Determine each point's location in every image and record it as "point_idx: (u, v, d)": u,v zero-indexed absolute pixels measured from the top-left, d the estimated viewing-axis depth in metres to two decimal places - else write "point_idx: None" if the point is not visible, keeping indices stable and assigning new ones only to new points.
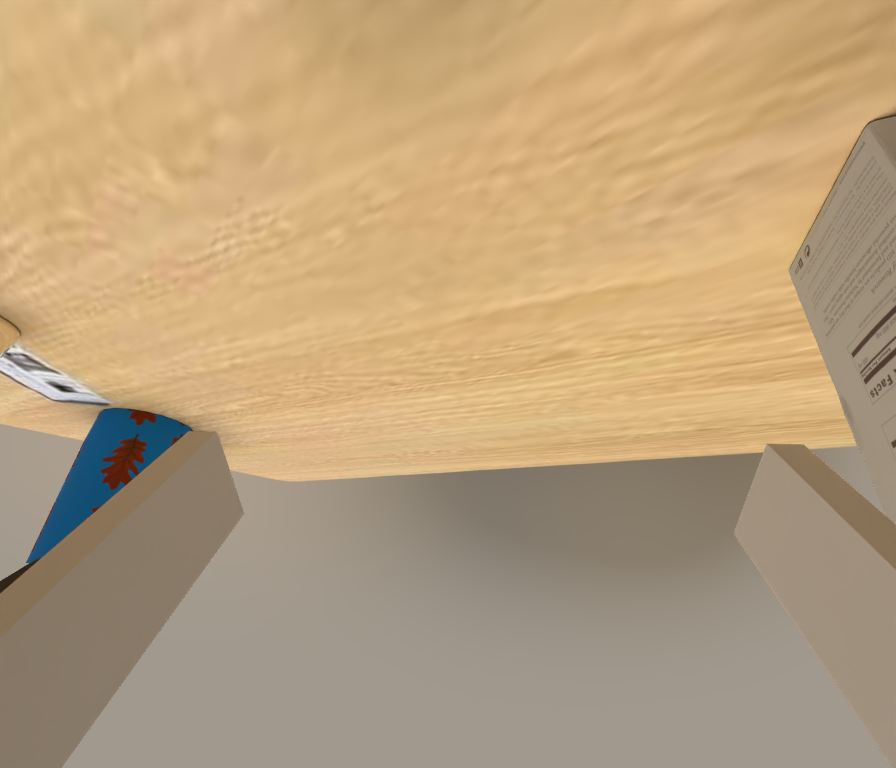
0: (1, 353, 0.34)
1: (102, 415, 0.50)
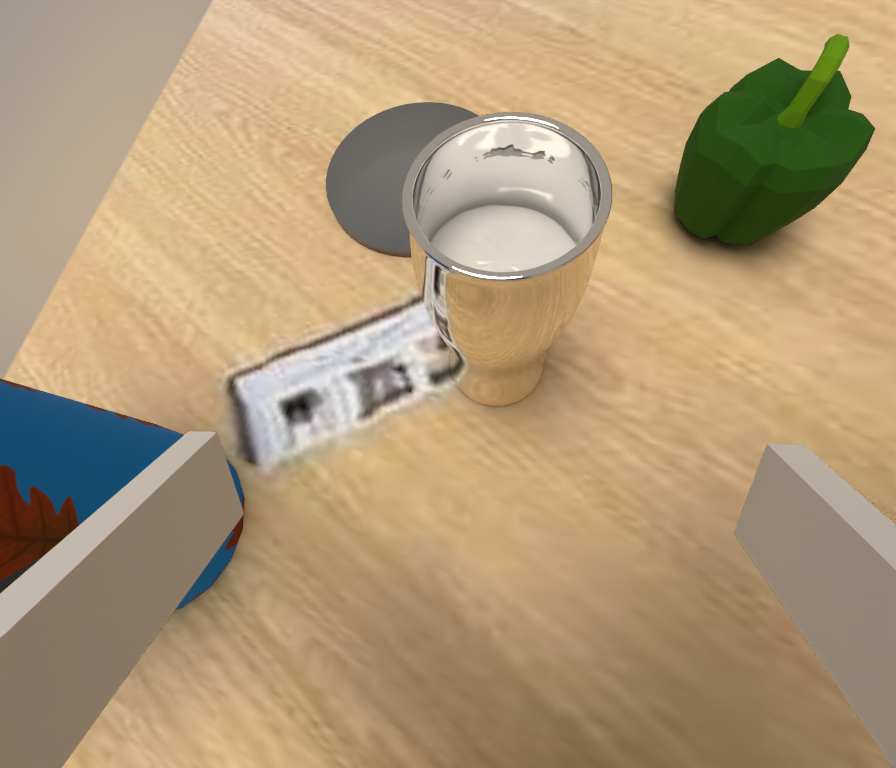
0: (490, 391, 0.24)
1: None
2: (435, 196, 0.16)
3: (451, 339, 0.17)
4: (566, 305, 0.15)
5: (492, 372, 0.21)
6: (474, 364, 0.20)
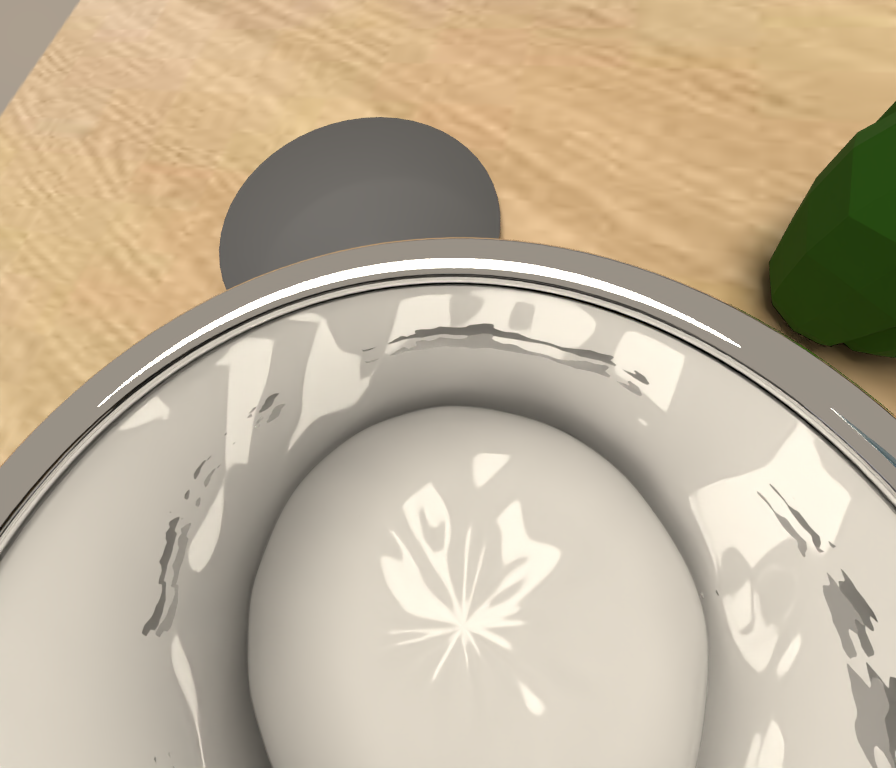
0: None
1: None
2: (248, 457, 0.05)
3: None
4: None
5: None
6: None
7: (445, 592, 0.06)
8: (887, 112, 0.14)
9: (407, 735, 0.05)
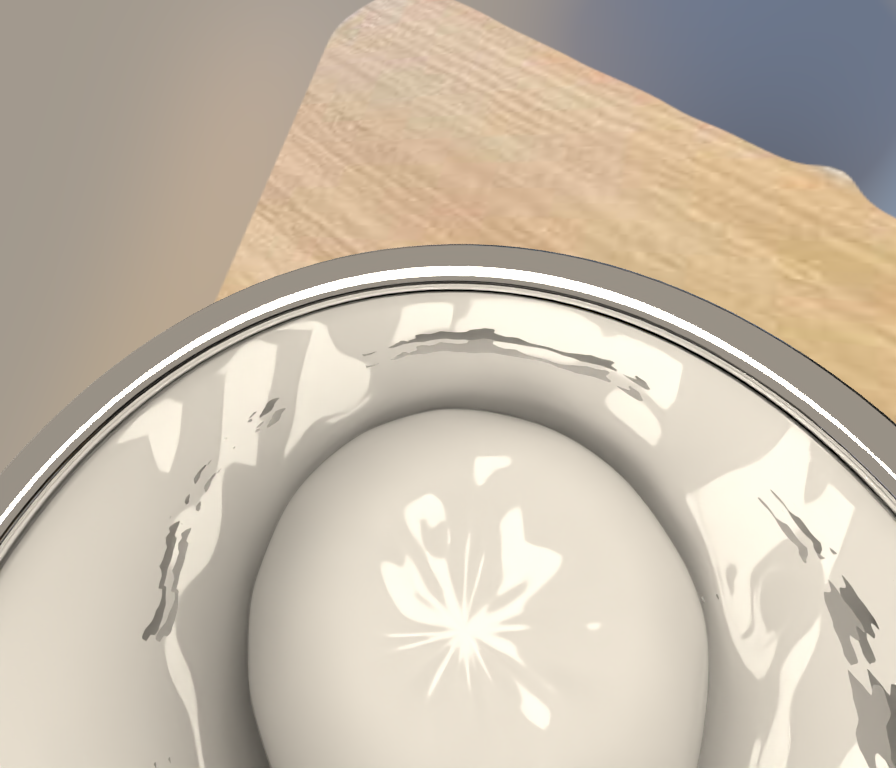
0: None
1: None
2: (247, 461, 0.05)
3: None
4: None
5: None
6: None
7: (445, 596, 0.06)
8: None
9: (407, 739, 0.05)
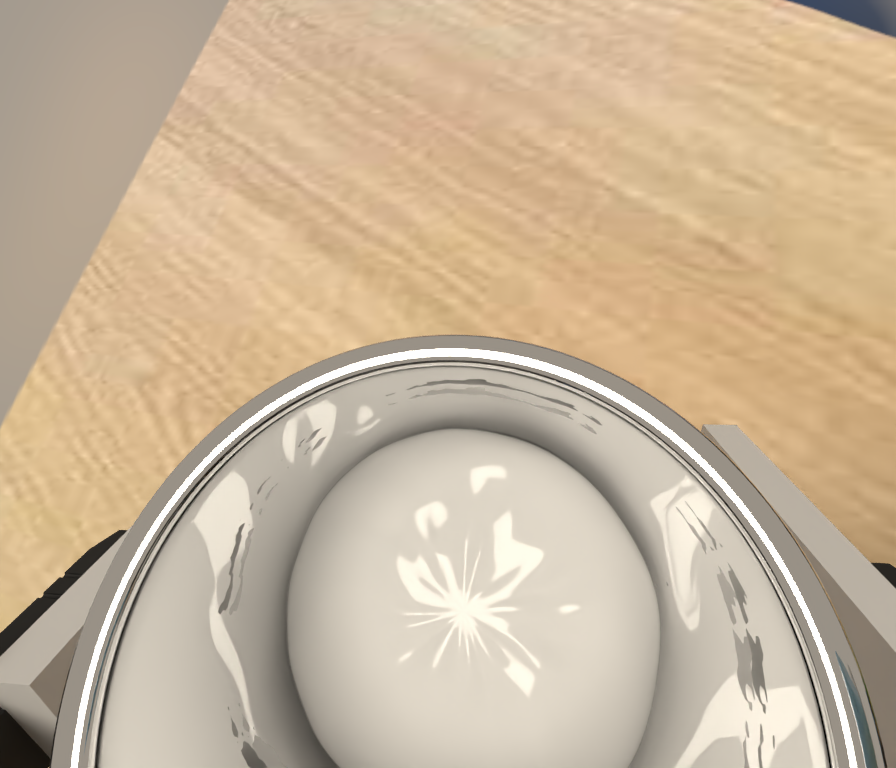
0: None
1: None
2: (293, 476, 0.06)
3: None
4: None
5: None
6: None
7: (448, 583, 0.07)
8: None
9: (418, 696, 0.07)
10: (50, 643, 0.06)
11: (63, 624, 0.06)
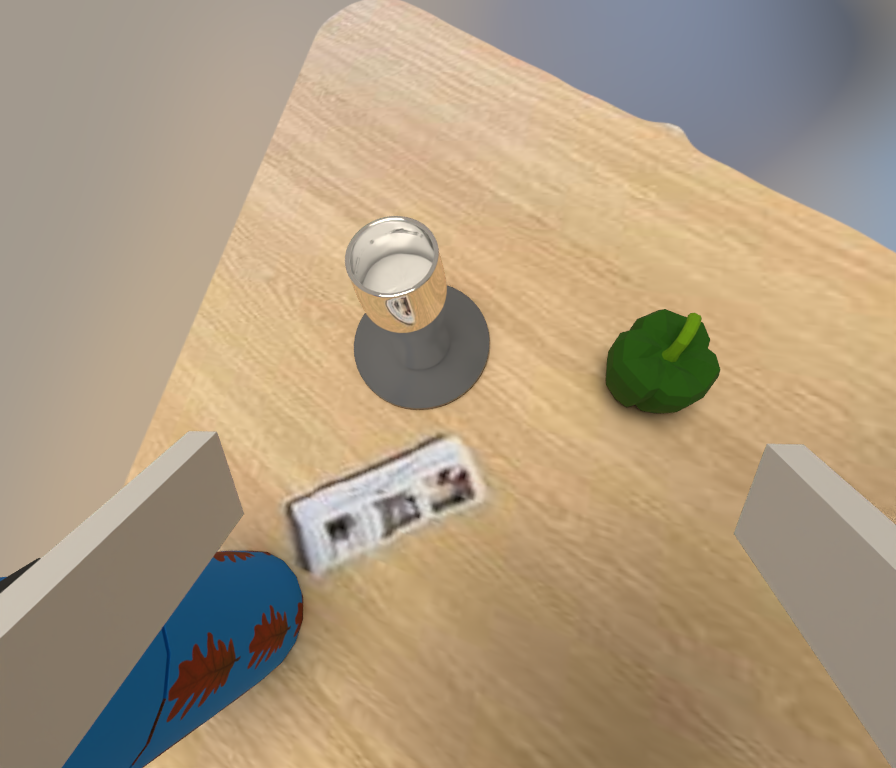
0: (412, 359, 0.40)
1: (282, 563, 0.37)
2: (366, 251, 0.32)
3: (376, 325, 0.33)
4: (426, 307, 0.31)
5: (406, 345, 0.36)
6: (394, 340, 0.36)
7: (398, 280, 0.33)
8: (635, 322, 0.37)
9: None
10: None
11: None
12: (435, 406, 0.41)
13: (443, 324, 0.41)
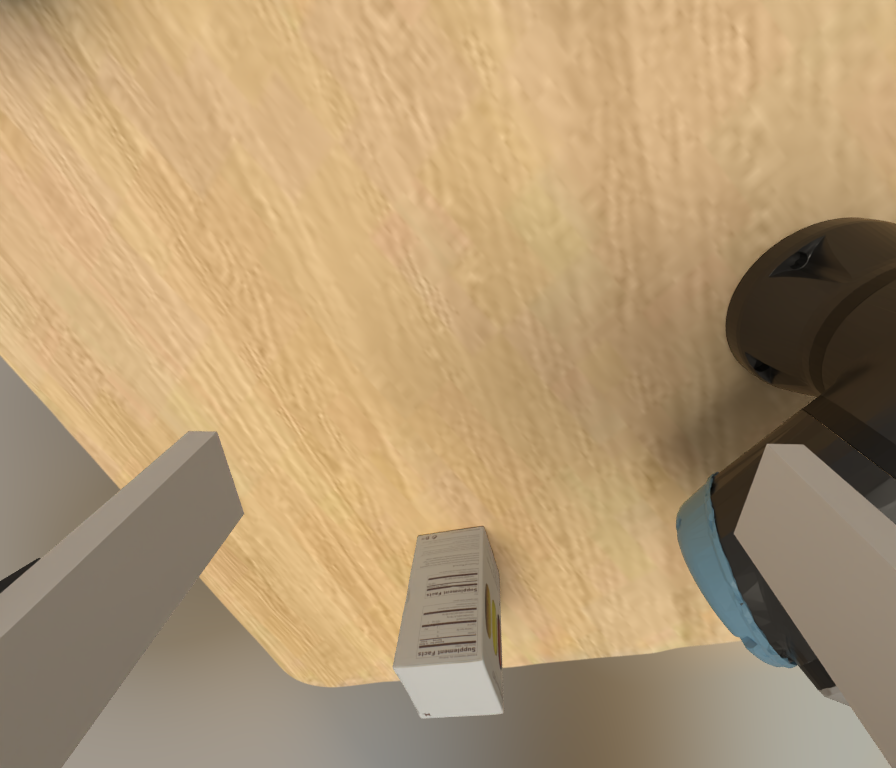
0: None
1: None
2: None
3: None
4: None
5: None
6: None
7: None
8: None
9: None
10: None
11: None
12: None
13: None
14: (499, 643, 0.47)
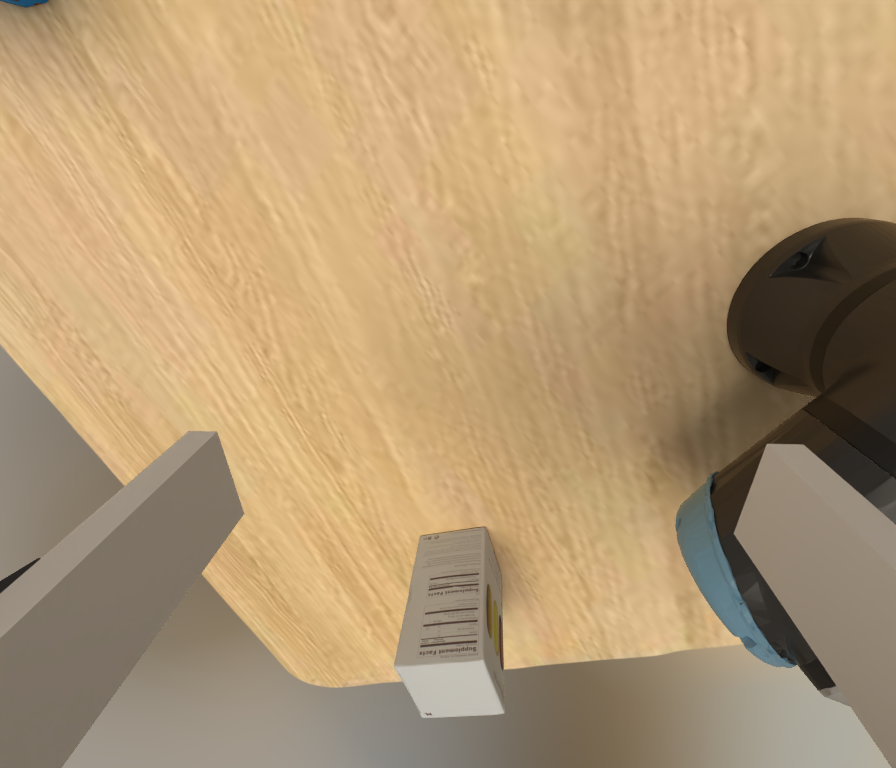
0: None
1: None
2: None
3: None
4: None
5: None
6: None
7: None
8: None
9: None
10: None
11: None
12: None
13: None
14: (500, 643, 0.47)
